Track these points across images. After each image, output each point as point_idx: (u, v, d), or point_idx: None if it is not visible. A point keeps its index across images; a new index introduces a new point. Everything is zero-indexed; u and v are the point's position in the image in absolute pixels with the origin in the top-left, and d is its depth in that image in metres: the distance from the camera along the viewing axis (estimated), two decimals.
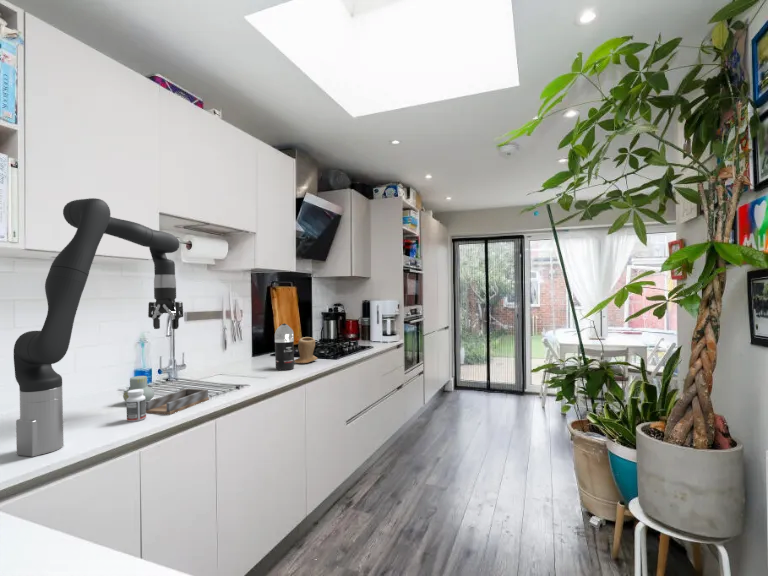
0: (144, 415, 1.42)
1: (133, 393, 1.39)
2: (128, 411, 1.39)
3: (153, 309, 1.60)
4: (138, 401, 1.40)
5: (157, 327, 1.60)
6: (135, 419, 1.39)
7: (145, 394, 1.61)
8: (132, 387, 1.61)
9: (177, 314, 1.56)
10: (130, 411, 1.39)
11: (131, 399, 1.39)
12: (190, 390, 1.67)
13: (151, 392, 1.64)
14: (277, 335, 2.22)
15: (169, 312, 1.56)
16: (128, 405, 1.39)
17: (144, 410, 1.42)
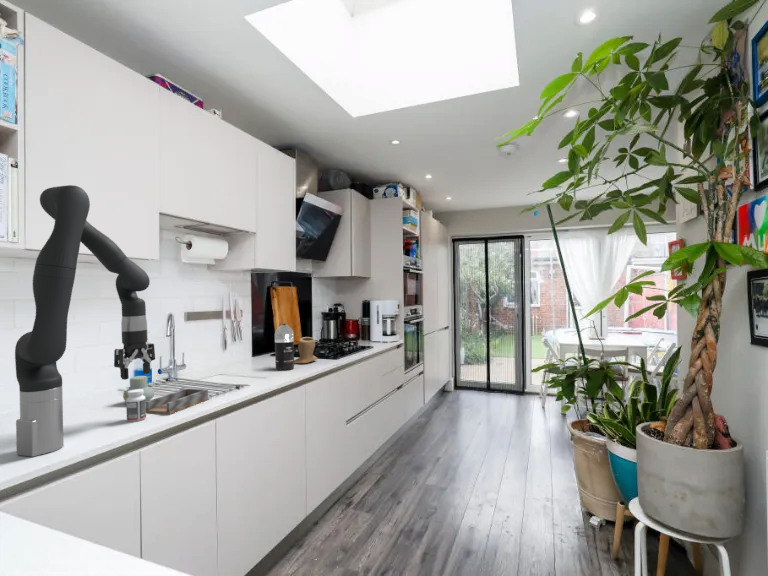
0: (144, 415, 1.42)
1: (133, 393, 1.39)
2: (128, 411, 1.39)
3: None
4: (138, 401, 1.40)
5: None
6: (135, 419, 1.39)
7: (145, 394, 1.61)
8: (132, 387, 1.61)
9: (154, 356, 1.48)
10: (130, 411, 1.39)
11: (131, 399, 1.39)
12: (190, 390, 1.67)
13: (151, 392, 1.64)
14: (277, 335, 2.22)
15: (147, 356, 1.44)
16: (128, 405, 1.39)
17: (144, 410, 1.42)
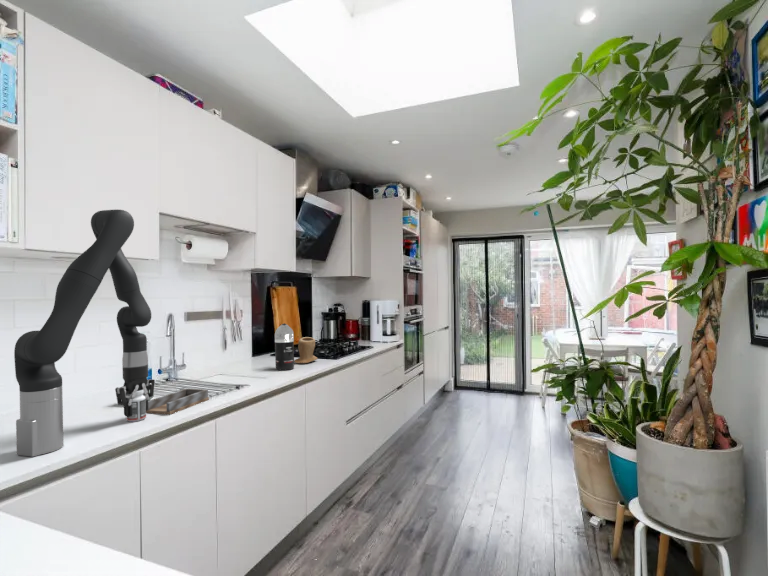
0: (144, 415, 1.42)
1: None
2: None
3: None
4: (138, 401, 1.40)
5: None
6: (135, 419, 1.39)
7: None
8: None
9: (152, 393, 1.47)
10: None
11: None
12: (190, 390, 1.67)
13: None
14: (277, 335, 2.22)
15: (146, 392, 1.44)
16: None
17: (144, 410, 1.42)
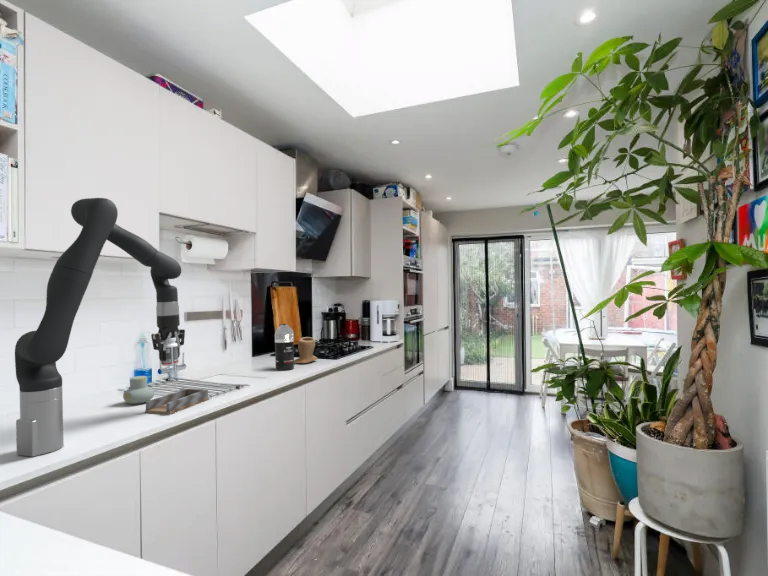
0: (177, 360, 1.54)
1: None
2: None
3: None
4: (171, 347, 1.52)
5: None
6: (169, 363, 1.51)
7: (145, 394, 1.61)
8: (132, 387, 1.61)
9: (182, 341, 1.59)
10: None
11: None
12: (190, 390, 1.67)
13: (151, 392, 1.64)
14: (277, 335, 2.22)
15: (178, 340, 1.56)
16: None
17: (177, 356, 1.54)
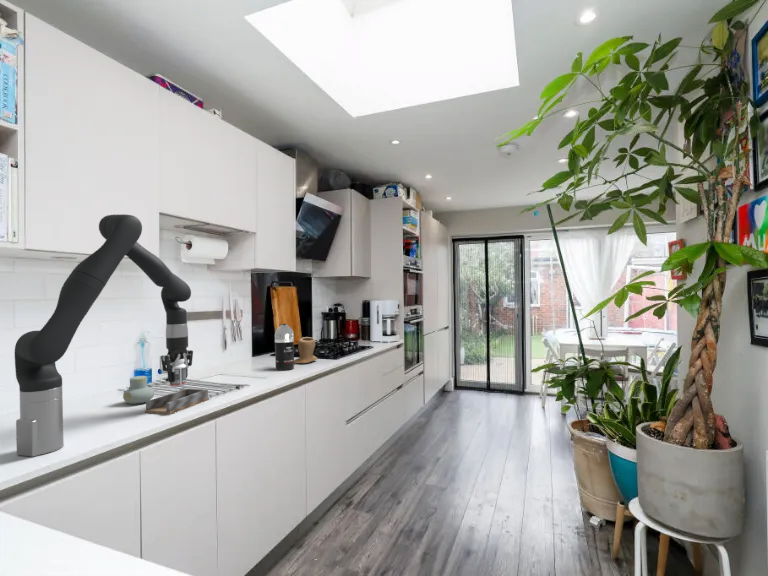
0: (185, 381, 1.57)
1: None
2: None
3: None
4: (180, 368, 1.55)
5: None
6: (177, 384, 1.55)
7: (145, 394, 1.61)
8: (132, 387, 1.61)
9: (190, 362, 1.62)
10: None
11: None
12: (190, 390, 1.67)
13: (151, 392, 1.64)
14: (277, 335, 2.22)
15: (186, 361, 1.60)
16: None
17: (185, 377, 1.57)
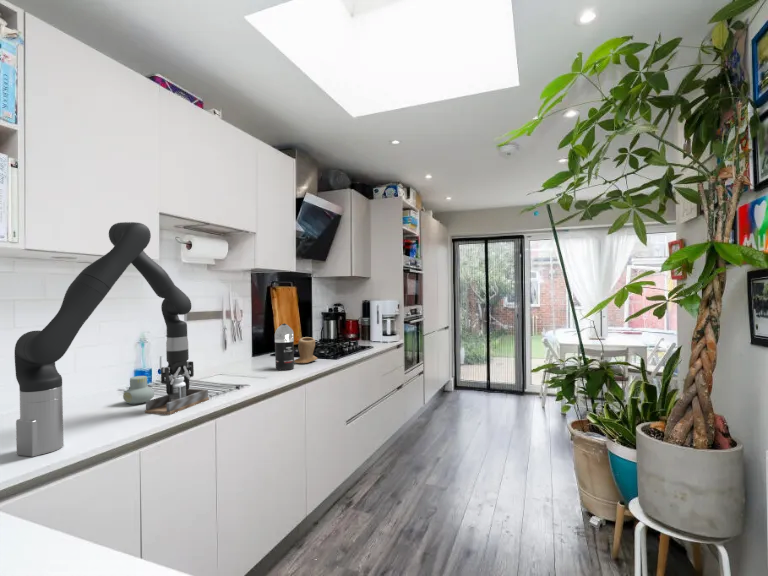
0: None
1: (175, 379, 1.55)
2: (171, 395, 1.54)
3: None
4: (179, 387, 1.55)
5: None
6: None
7: (145, 394, 1.61)
8: (132, 387, 1.61)
9: (192, 373, 1.63)
10: (173, 395, 1.54)
11: (173, 385, 1.55)
12: (190, 390, 1.67)
13: (151, 392, 1.64)
14: (277, 335, 2.22)
15: (187, 373, 1.60)
16: None
17: (185, 395, 1.57)
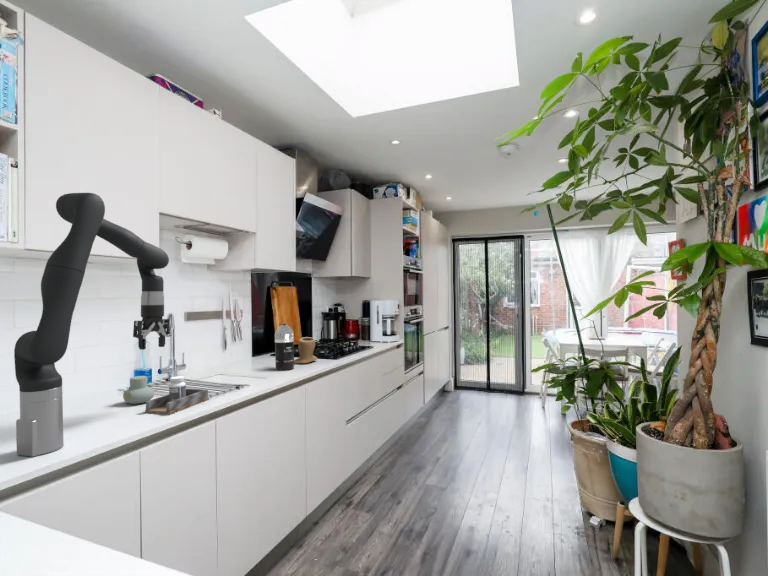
0: None
1: (175, 379, 1.55)
2: (171, 395, 1.54)
3: None
4: (179, 387, 1.55)
5: None
6: None
7: (145, 394, 1.61)
8: (132, 387, 1.61)
9: (169, 331, 1.58)
10: (173, 395, 1.54)
11: (173, 385, 1.55)
12: (190, 390, 1.67)
13: (151, 392, 1.64)
14: (277, 335, 2.22)
15: (163, 330, 1.55)
16: (171, 390, 1.54)
17: (185, 395, 1.57)
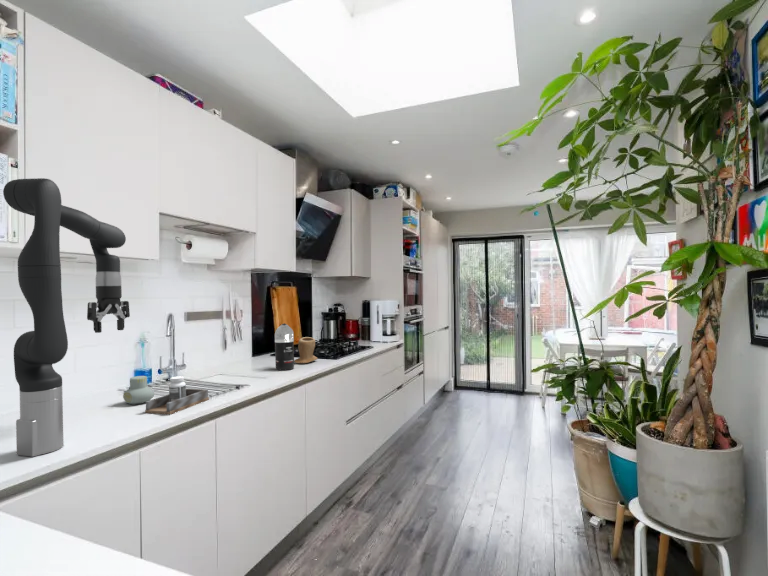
0: None
1: (175, 379, 1.55)
2: (171, 395, 1.54)
3: None
4: (179, 387, 1.55)
5: None
6: None
7: (145, 394, 1.61)
8: (132, 387, 1.61)
9: (128, 314, 1.51)
10: (173, 395, 1.54)
11: (173, 385, 1.55)
12: (190, 390, 1.67)
13: (151, 392, 1.64)
14: (277, 335, 2.22)
15: (121, 312, 1.47)
16: (171, 390, 1.54)
17: (185, 395, 1.57)
